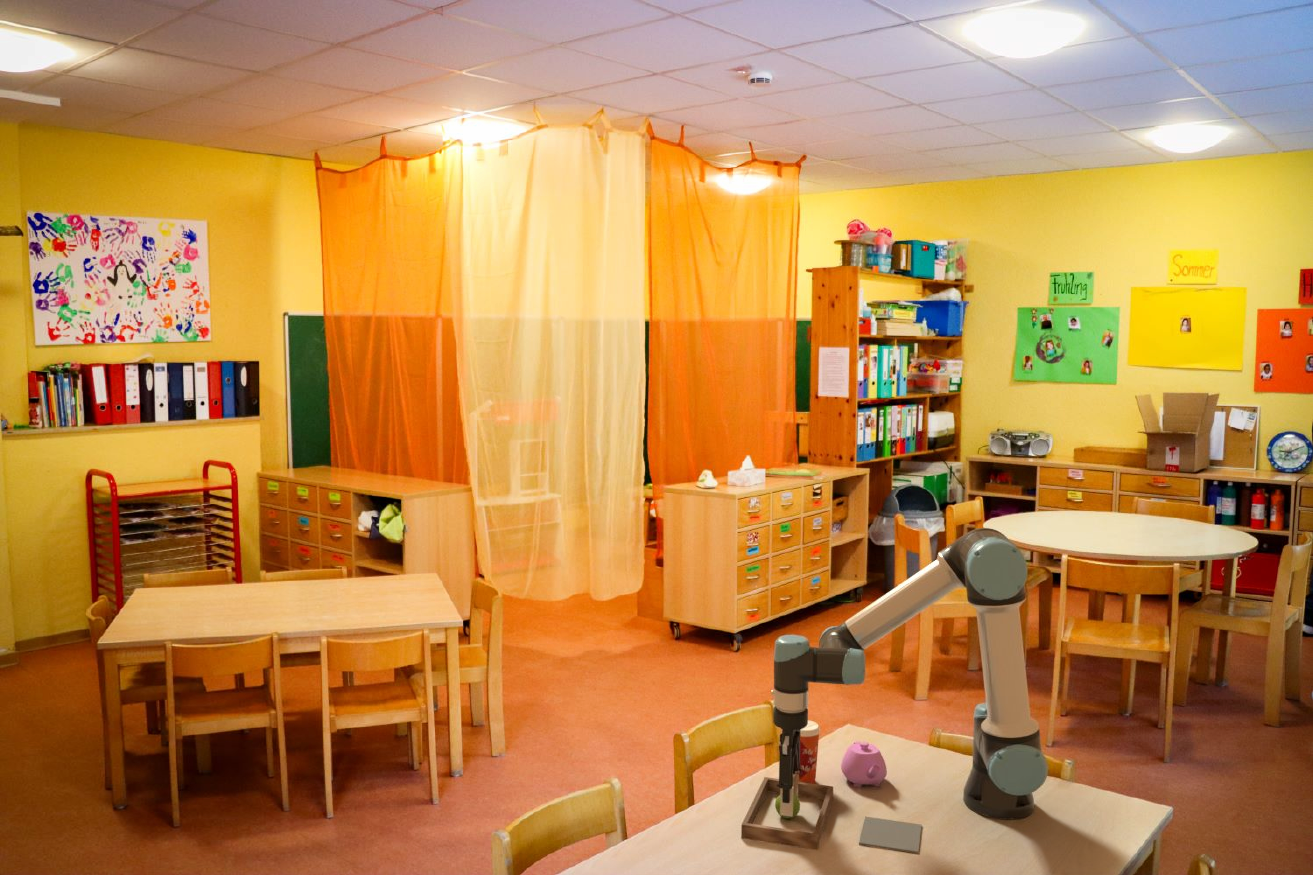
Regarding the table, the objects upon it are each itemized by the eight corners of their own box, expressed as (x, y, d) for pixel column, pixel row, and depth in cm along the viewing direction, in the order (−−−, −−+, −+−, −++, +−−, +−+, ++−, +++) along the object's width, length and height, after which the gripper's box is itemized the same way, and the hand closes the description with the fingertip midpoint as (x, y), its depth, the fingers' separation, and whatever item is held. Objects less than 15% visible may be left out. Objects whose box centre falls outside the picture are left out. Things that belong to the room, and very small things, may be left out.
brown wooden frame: (833, 798, 229) (833, 786, 228) (817, 849, 206) (817, 836, 206) (764, 789, 234) (764, 776, 233) (741, 837, 211) (741, 824, 211)
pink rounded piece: (874, 767, 245) (875, 731, 245) (897, 795, 231) (898, 756, 230) (833, 770, 244) (834, 733, 243) (854, 798, 229) (855, 759, 228)
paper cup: (809, 791, 232) (810, 733, 231) (781, 782, 237) (781, 725, 236) (825, 779, 239) (826, 723, 237) (797, 771, 243) (798, 715, 242)
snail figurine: (787, 827, 216) (787, 773, 214) (770, 814, 221) (771, 762, 220) (807, 821, 218) (808, 768, 217) (790, 809, 224) (791, 757, 223)
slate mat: (921, 826, 216) (921, 824, 216) (918, 853, 205) (918, 851, 205) (865, 817, 220) (865, 816, 220) (859, 844, 208) (859, 842, 208)
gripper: (781, 690, 227) (780, 788, 230) (765, 720, 210) (763, 825, 212) (814, 694, 225) (812, 792, 227) (800, 724, 207) (798, 830, 210)
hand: (789, 808), depth 220 cm, fingers closed on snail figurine, 5 cm apart
